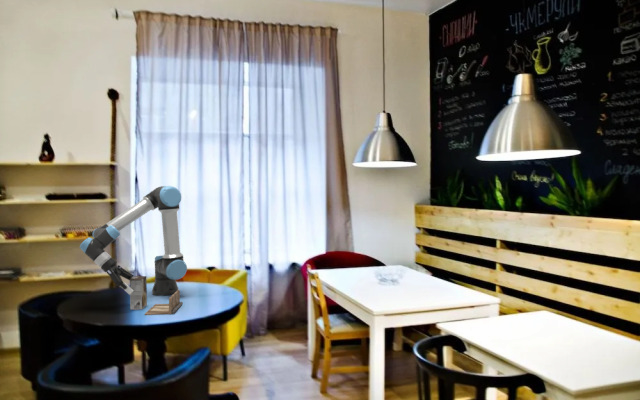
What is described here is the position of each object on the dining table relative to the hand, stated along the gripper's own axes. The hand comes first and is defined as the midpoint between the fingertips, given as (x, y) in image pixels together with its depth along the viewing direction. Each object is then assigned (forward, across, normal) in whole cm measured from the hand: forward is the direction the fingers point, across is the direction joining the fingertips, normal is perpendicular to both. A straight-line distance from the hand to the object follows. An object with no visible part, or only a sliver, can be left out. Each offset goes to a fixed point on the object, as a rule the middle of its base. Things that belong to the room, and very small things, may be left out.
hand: (135, 290), depth 248 cm
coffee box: (+8, 0, -6) cm, 10 cm away
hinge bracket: (+18, +5, +5) cm, 19 cm away
